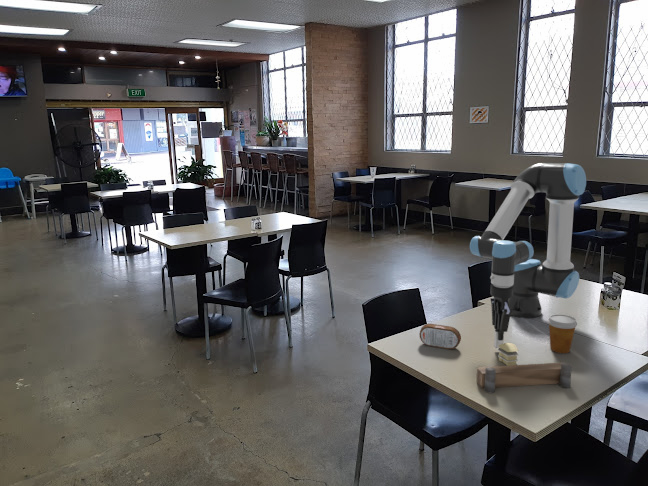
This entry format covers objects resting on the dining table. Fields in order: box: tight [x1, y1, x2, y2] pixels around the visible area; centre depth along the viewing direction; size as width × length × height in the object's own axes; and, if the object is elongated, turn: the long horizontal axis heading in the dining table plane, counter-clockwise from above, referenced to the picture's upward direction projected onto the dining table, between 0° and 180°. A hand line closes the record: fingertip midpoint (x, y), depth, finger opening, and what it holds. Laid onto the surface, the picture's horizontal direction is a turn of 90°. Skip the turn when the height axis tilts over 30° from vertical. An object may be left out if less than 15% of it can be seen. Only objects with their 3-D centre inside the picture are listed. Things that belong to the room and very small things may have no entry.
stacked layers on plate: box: [497, 342, 519, 366], centre depth 170 cm, size 10×9×6 cm
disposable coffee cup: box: [547, 313, 578, 354], centre depth 177 cm, size 10×10×12 cm
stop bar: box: [476, 361, 573, 394], centre depth 154 cm, size 7×28×7 cm, turn 94°
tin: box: [418, 323, 462, 350], centre depth 183 cm, size 15×3×8 cm, turn 65°
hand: (498, 347), depth 178 cm, fingers closed
